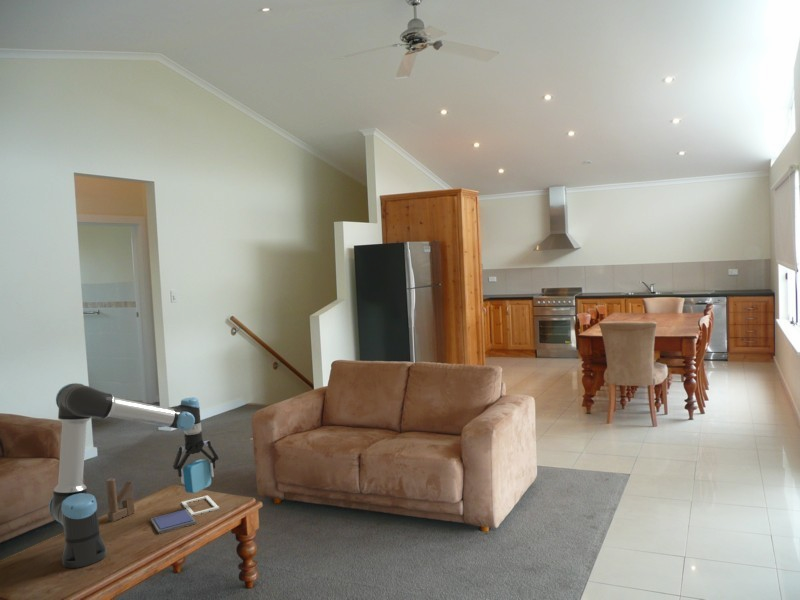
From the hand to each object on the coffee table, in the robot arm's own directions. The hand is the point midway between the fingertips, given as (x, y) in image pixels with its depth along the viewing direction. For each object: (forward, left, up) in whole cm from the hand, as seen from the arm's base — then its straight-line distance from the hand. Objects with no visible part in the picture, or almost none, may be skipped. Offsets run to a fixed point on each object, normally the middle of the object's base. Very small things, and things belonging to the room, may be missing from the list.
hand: (197, 479), depth 287 cm
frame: (0, 0, -12) cm, 12 cm away
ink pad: (-14, -11, -12) cm, 22 cm away
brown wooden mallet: (-31, +12, -12) cm, 36 cm away
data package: (0, 0, -4) cm, 4 cm away
